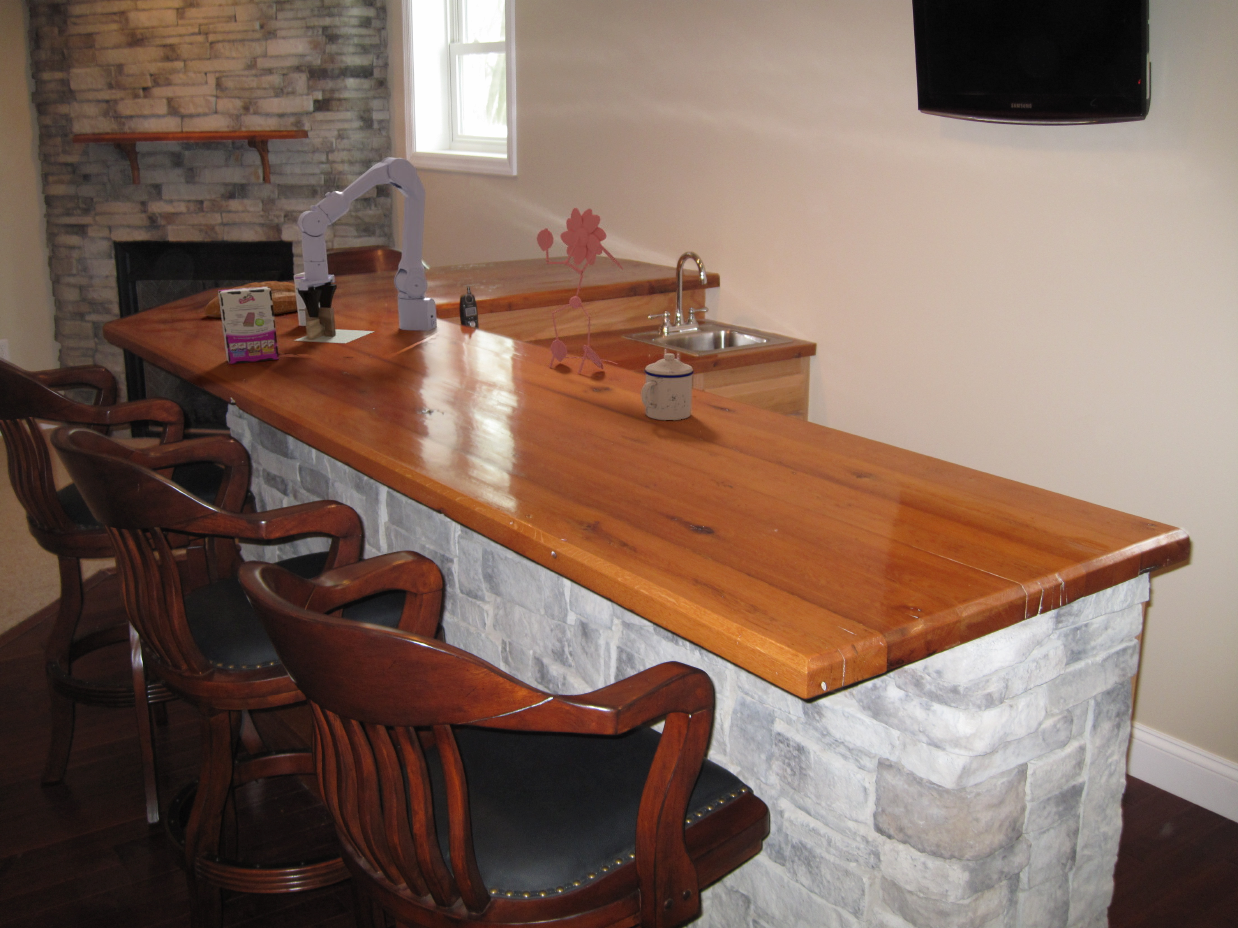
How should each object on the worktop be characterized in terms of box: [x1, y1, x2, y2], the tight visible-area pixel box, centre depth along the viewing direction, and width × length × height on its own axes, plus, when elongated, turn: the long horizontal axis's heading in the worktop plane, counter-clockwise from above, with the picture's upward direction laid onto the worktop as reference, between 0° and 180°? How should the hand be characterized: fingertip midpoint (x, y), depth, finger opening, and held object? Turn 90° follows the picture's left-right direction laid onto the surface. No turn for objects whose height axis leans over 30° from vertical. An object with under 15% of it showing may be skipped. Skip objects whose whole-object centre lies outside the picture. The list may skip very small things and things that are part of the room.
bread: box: [203, 280, 298, 319], centre depth 295 cm, size 18×35×9 cm, turn 135°
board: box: [293, 328, 375, 344], centre depth 258 cm, size 14×16×1 cm
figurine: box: [536, 207, 624, 378], centre depth 226 cm, size 15×26×35 cm, turn 49°
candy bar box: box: [217, 287, 280, 365], centre depth 232 cm, size 11×5×16 cm, turn 118°
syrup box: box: [293, 271, 320, 327], centre depth 272 cm, size 6×6×14 cm
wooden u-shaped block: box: [305, 319, 325, 340], centre depth 258 cm, size 1×12×5 cm, turn 167°
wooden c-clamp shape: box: [305, 307, 336, 337], centre depth 258 cm, size 7×2×7 cm, turn 78°
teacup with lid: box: [640, 352, 694, 421], centre depth 188 cm, size 12×9×12 cm
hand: (319, 315), depth 257 cm, fingers open, 6 cm apart
